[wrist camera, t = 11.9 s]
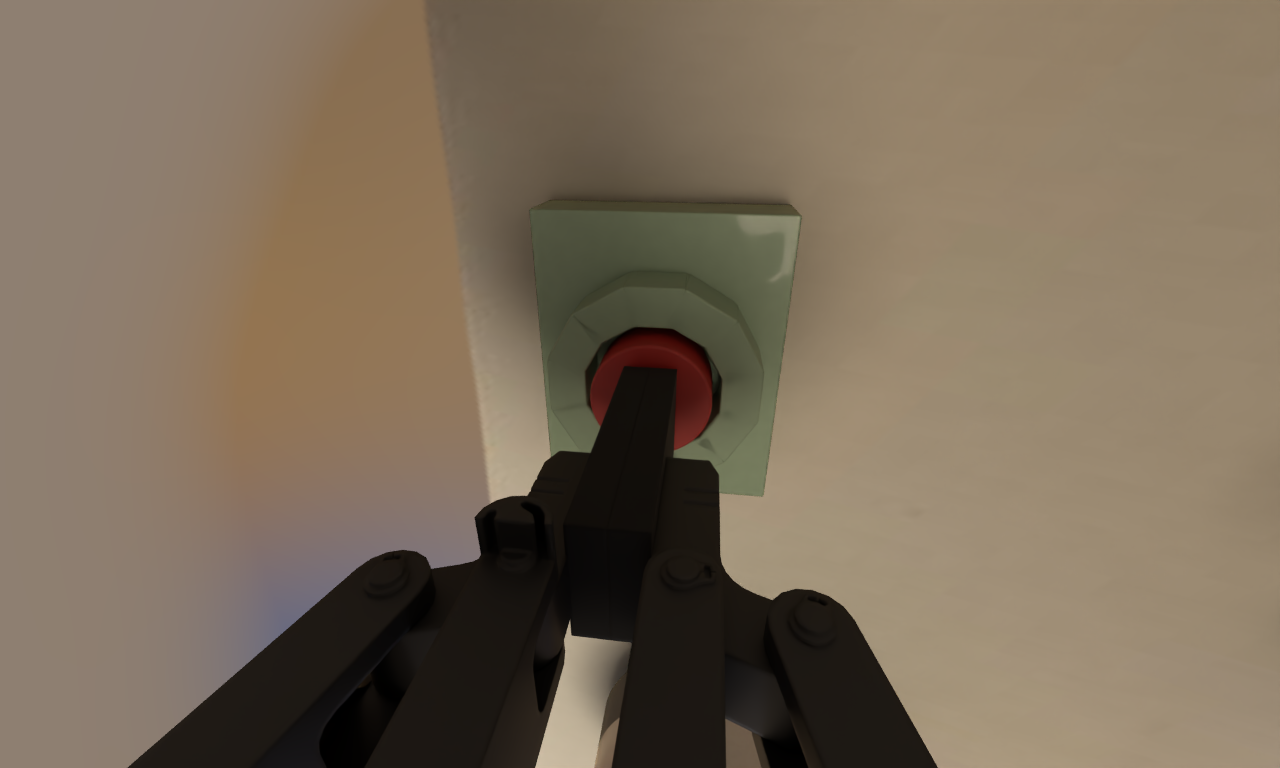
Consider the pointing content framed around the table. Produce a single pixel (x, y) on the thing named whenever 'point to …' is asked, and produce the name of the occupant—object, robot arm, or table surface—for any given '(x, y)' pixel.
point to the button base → (669, 312)
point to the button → (660, 353)
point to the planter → (738, 739)
